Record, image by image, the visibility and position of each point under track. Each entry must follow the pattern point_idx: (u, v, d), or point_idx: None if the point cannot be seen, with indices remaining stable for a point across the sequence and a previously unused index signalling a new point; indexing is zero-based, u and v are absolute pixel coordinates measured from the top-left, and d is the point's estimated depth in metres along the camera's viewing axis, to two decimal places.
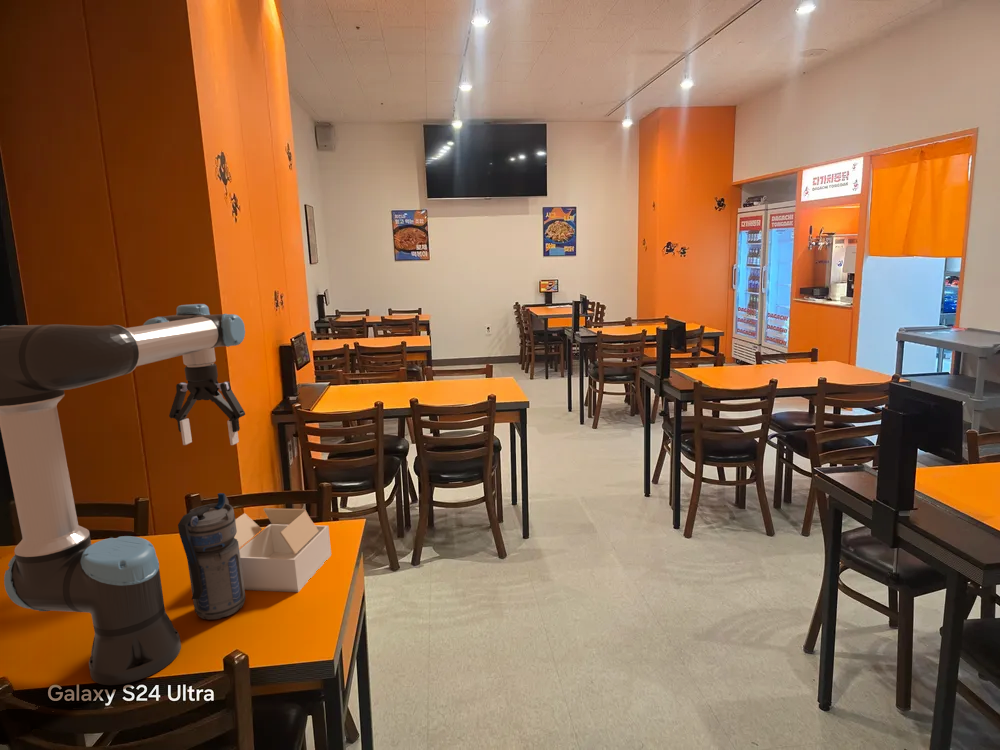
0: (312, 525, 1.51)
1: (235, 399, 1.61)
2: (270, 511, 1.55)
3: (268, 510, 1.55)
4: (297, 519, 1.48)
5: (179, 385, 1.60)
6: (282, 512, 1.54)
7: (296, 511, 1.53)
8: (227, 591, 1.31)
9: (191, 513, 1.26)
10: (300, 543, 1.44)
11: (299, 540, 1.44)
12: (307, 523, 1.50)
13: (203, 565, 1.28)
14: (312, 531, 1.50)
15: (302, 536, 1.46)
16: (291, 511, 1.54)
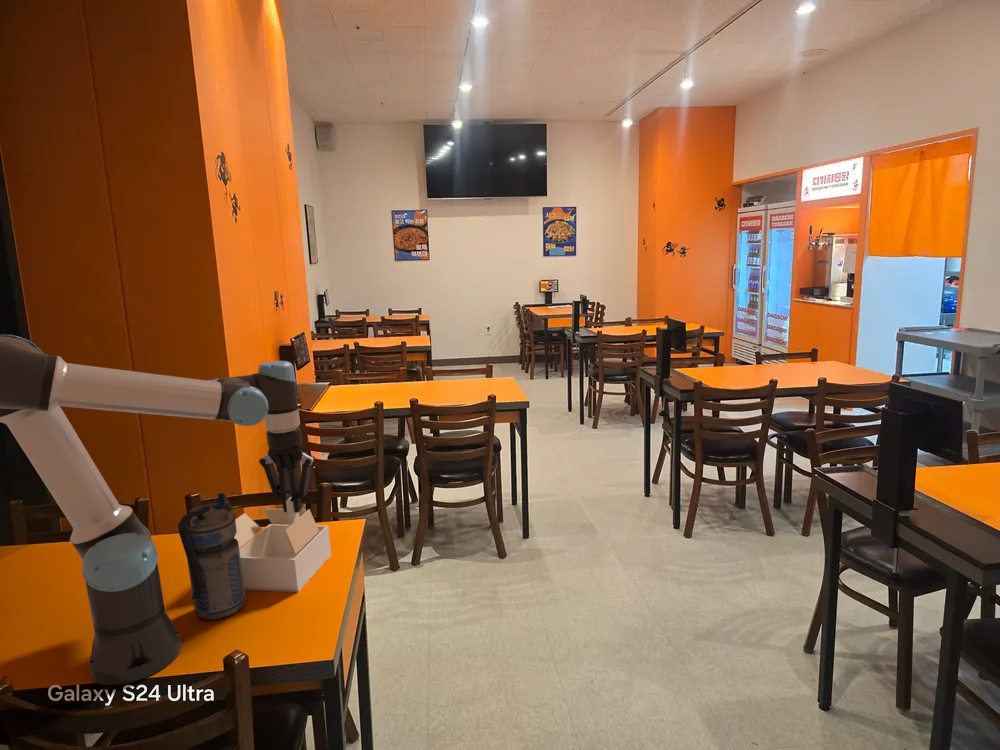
0: (314, 525, 1.51)
1: (308, 477, 1.44)
2: (270, 511, 1.55)
3: (268, 510, 1.55)
4: (301, 517, 1.47)
5: (261, 459, 1.43)
6: (282, 512, 1.54)
7: None
8: (227, 591, 1.31)
9: (191, 513, 1.26)
10: (301, 543, 1.44)
11: (300, 540, 1.44)
12: (309, 522, 1.50)
13: (203, 565, 1.28)
14: (313, 531, 1.50)
15: (303, 536, 1.46)
16: None
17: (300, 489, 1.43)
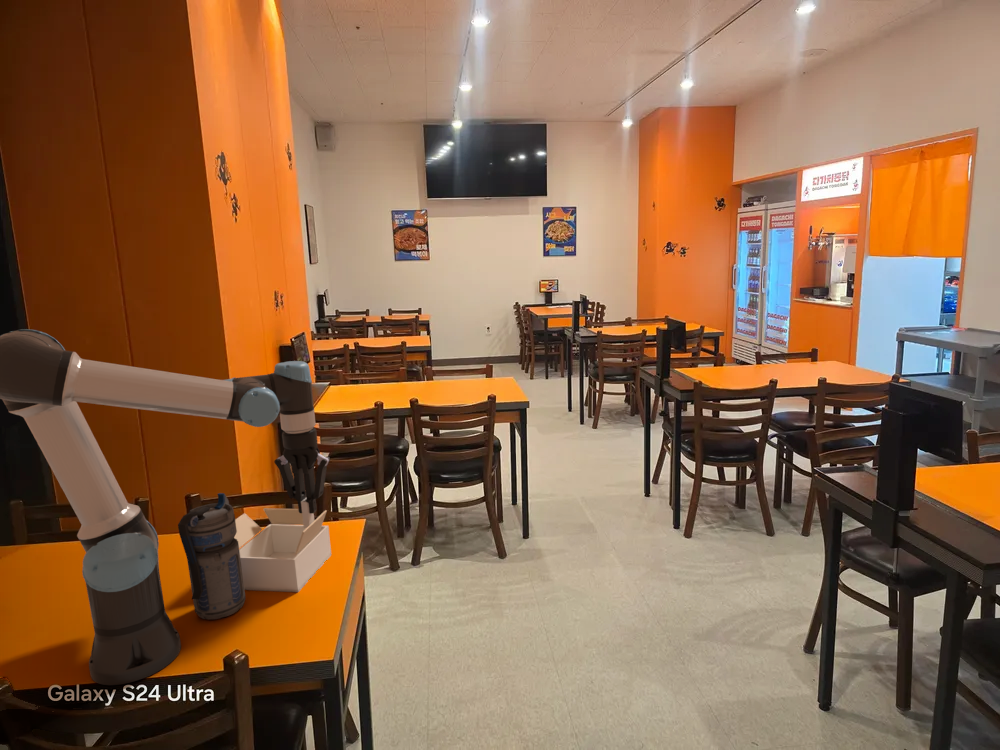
0: (320, 526, 1.51)
1: (324, 478, 1.43)
2: (270, 511, 1.55)
3: (268, 510, 1.55)
4: (318, 519, 1.47)
5: (277, 460, 1.42)
6: (282, 512, 1.54)
7: (296, 511, 1.53)
8: (227, 591, 1.31)
9: (191, 513, 1.26)
10: (304, 544, 1.44)
11: (306, 541, 1.44)
12: (319, 523, 1.50)
13: (203, 565, 1.28)
14: (316, 531, 1.50)
15: (309, 537, 1.46)
16: (291, 511, 1.54)
17: (315, 490, 1.42)
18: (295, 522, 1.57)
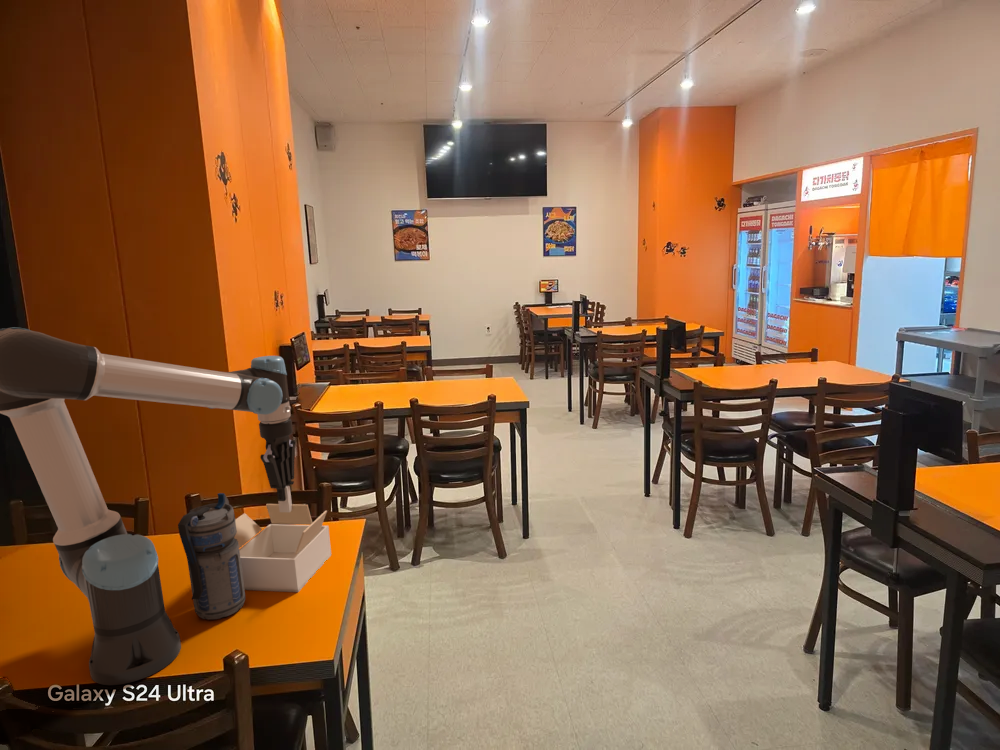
0: (320, 526, 1.51)
1: (273, 473, 1.48)
2: (272, 507, 1.56)
3: (270, 506, 1.56)
4: (318, 519, 1.47)
5: None
6: None
7: (298, 507, 1.55)
8: (227, 591, 1.31)
9: (191, 513, 1.26)
10: (304, 544, 1.44)
11: (306, 541, 1.44)
12: (320, 523, 1.50)
13: (203, 565, 1.28)
14: (317, 531, 1.50)
15: (309, 537, 1.46)
16: (293, 506, 1.55)
17: None
18: (295, 521, 1.57)
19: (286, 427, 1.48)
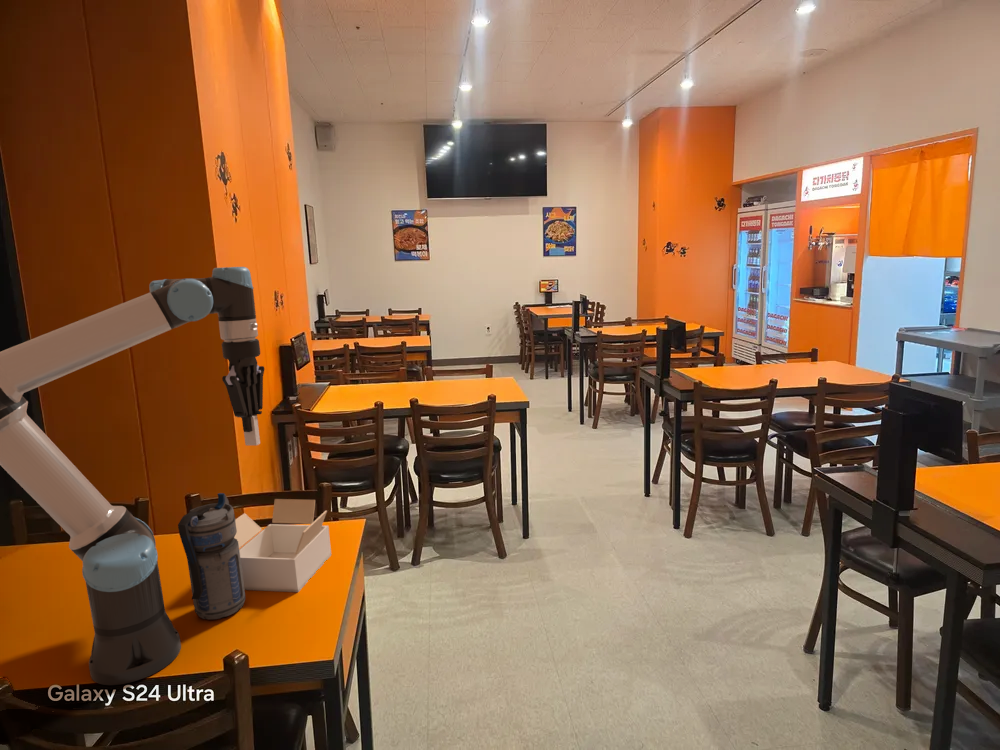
0: (320, 526, 1.51)
1: (237, 398, 1.31)
2: (280, 502, 1.60)
3: (279, 500, 1.60)
4: (318, 519, 1.47)
5: None
6: (291, 503, 1.59)
7: (305, 501, 1.58)
8: (227, 591, 1.31)
9: (191, 513, 1.26)
10: (304, 544, 1.44)
11: (306, 541, 1.44)
12: (320, 523, 1.50)
13: (203, 565, 1.28)
14: (317, 531, 1.50)
15: (309, 537, 1.46)
16: (300, 501, 1.59)
17: None
18: (297, 520, 1.58)
19: (252, 347, 1.32)
